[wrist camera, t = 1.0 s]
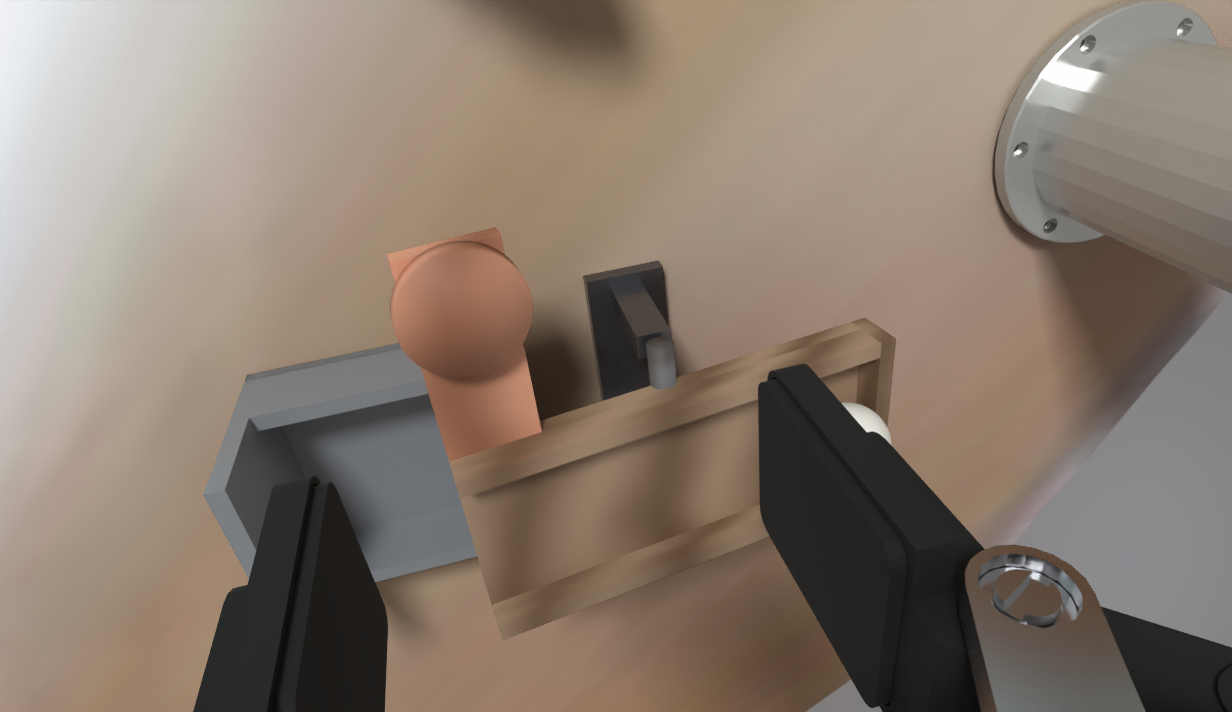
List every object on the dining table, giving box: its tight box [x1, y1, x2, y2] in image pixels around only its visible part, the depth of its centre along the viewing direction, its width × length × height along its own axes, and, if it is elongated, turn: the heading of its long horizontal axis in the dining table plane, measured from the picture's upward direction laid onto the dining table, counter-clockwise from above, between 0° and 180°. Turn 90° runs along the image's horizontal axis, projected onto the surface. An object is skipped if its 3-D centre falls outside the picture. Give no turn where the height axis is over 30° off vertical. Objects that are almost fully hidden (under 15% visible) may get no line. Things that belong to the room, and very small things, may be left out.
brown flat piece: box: [387, 227, 896, 640], centre depth 34 cm, size 21×21×3 cm
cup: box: [204, 343, 477, 582], centre depth 37 cm, size 12×12×9 cm
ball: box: [842, 402, 891, 445], centre depth 36 cm, size 4×4×4 cm
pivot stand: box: [583, 261, 671, 401], centre depth 40 cm, size 4×15×6 cm, turn 7°
